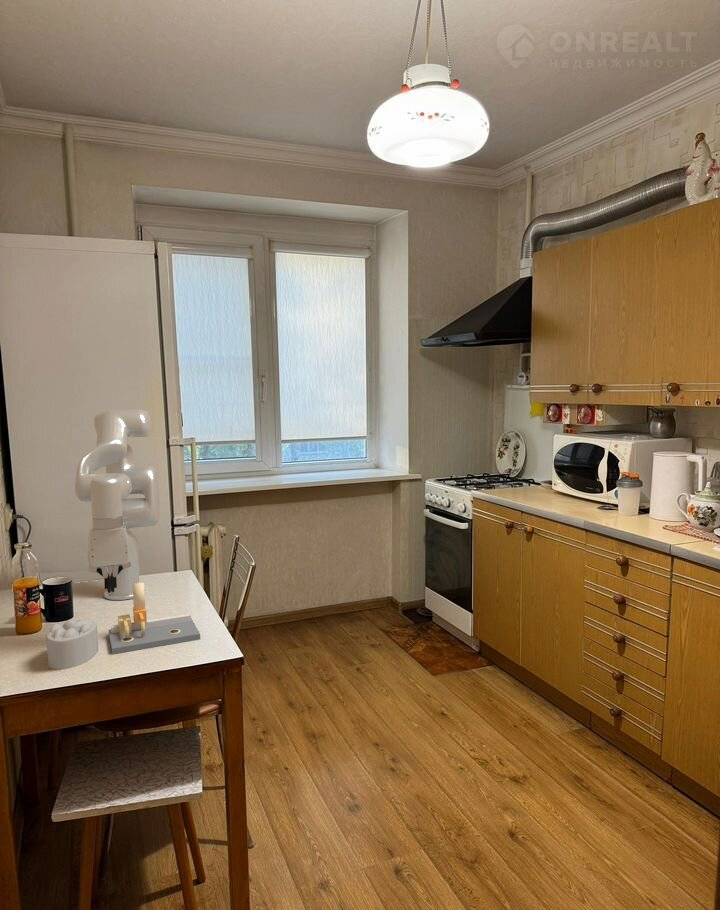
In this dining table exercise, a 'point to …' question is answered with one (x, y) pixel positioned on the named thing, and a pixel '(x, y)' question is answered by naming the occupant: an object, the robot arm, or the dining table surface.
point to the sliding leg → (139, 606)
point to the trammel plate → (151, 633)
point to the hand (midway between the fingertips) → (110, 591)
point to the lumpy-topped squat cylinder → (71, 643)
